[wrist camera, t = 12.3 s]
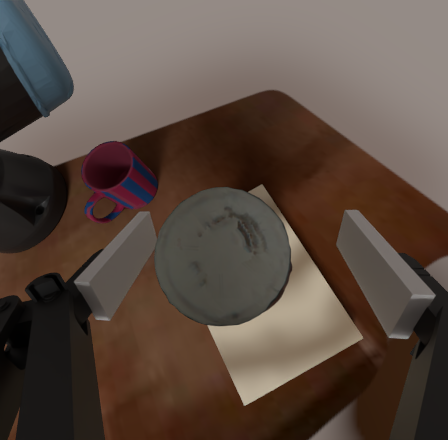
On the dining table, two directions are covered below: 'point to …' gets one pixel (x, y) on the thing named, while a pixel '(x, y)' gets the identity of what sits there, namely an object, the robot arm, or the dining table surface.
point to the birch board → (286, 327)
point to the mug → (117, 179)
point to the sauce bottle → (223, 257)
